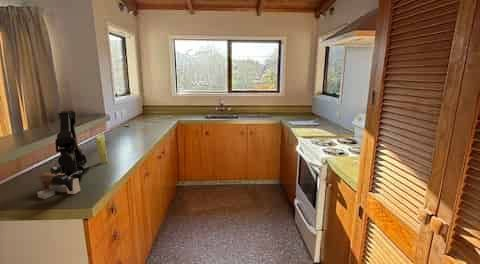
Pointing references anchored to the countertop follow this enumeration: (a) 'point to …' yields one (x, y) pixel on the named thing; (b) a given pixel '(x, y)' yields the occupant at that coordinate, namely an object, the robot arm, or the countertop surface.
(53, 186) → the cube on a stick
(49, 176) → the brown wooden slab
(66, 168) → the robot arm
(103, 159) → the tube
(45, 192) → the token
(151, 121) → the countertop surface
